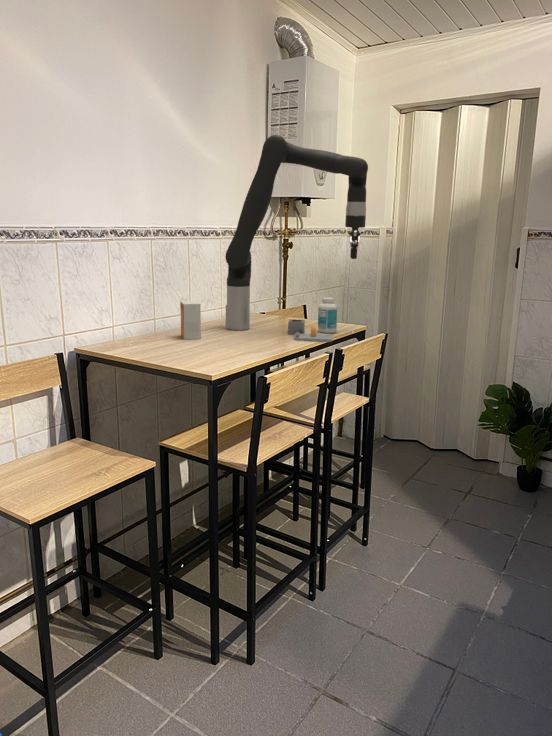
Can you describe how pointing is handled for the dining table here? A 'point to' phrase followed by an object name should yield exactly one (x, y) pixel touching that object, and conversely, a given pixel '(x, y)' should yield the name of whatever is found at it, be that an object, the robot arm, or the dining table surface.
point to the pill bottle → (327, 316)
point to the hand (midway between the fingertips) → (353, 258)
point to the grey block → (296, 326)
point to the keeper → (313, 336)
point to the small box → (190, 320)
